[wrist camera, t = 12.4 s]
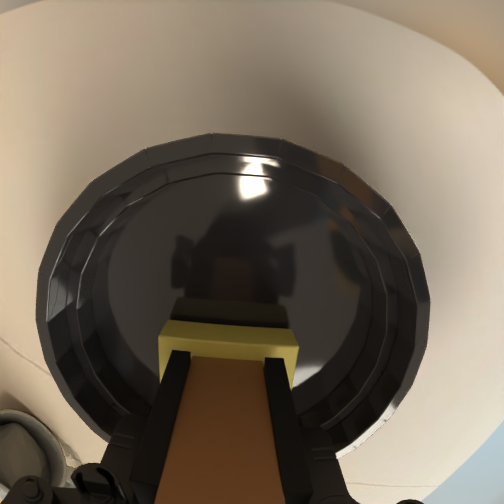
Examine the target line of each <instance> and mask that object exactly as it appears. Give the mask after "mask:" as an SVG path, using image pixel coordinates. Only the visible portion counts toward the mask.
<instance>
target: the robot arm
mask: <svg viewBox="0 0 504 504" xmlns="http://www.w3.org/2000/svg"><path fill="white" fill-rule="evenodd" d="M190 363H191V352H189V351H180V350H172V352H171V354H170V357H169V360H168V363H167V366H166V368H165V371H164V374H163V377H162V380H161V383H160V386H159V388H158V391H157V394H156V397H155V400H154V403H153V406H152V409H151V412H150V415H149V417H145V416H139V415H134V414H129V413H127V414H126V415H125V416H124V417H123V418H121V419H120V420H119V421H118V422H117V425H116V427H115V429H114V432H113V435H112V436H111V439H110V441H109V444H108V446H107V448H106V451H105V453H104V455H103V458H102V460H101V463H100V464H99V463H87V464H84V465H81V466H79V467H78V468H76V469H75V470H74V471H73V473H72V475H71V477H70V478H71V480H72V481H73V483H74V485H75V487H76V488H65V487H53V486H50V485H49V483H48V482H47V481H45V480H44V479H43V478H41V477H38V476H35V475H27V476H24V477H21V478H19V479H18V480H17V481H16V482H15V483H14V485H13V486H12V488H11V489H10V490H9V492H8V493H7V495H6V496H5V498H4V499H3V501H2V502H1V504H154V502H155V498H156V494H157V489H158V486H159V483H160V479H161V475H162V471H163V467H164V462H165V458H166V454H167V450H168V447H169V443H170V439H171V435H172V431H173V427H174V423H175V419H176V415H177V412H178V408H179V404H180V400H181V397H182V393H183V389H184V385H185V382H186V378H187V374H188V371H189V367H190ZM263 369H264V375H265V382H266V388H267V394H268V401H269V407H270V413H271V420H272V426H273V432H274V439H275V445H276V451H277V458H278V464H279V470H280V476H281V483H282V489H283V494H284V498H285V504H360V503H358V502H356V501H355V500H354V499H353V498H352V497H351V496H350V495H349V493H348V490H347V487H346V484H345V481H344V478H343V475H342V472H341V468H340V465H339V462H338V459H337V458H336V457H337V456H336V453H335V450H334V447H333V443H332V440H331V437H330V435H329V434H328V433H327V432H326V431H325V430H324V429H323V428H322V427H321V426H313V427H299V424H298V419H297V415H296V410H295V406H294V401H293V397H292V393H291V388H290V384H289V379H288V375H287V371H286V366H285V362H284V358H272V357H265V361H264V368H263ZM397 504H423V503H422V502H420V501H418V500H412V499H408V500H402V501H400V502H398V503H397Z"/></svg>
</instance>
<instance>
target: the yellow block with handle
mask: <svg viewBox="0 0 504 504" xmlns="http://www.w3.org/2000/svg"><path fill="white" fill-rule="evenodd" d="M158 348H159V374H160V383H161V380H162V377H163V374H164V371H165V368H166V366H167V363H168V360H169V357H170V354H171V352H172V350H180V351H189V352H191V363H190V367H189V371H188V374H187V378H186V382H185V385H184V389H183V393H182V397H181V400H180V404H179V408H178V412H177V415H176V419H175V423H174V427H173V431H172V435H171V439H170V443H169V447H168V450H167V454H166V458H165V462H164V467H163V471H162V475H161V479H160V483H159V486H158V489H157V494H156V498H155V502H154V504H285V498H284V494H283V489H282V483H281V476H280V470H279V464H278V458H277V451H276V445H275V439H274V432H273V426H272V420H271V413H270V407H269V401H268V394H267V388H266V382H265V375H264V369H263V368H264V361H265V357H272V358H284V362H285V366H286V371H287V375H288V379H289V384H290V388H291V390H292V385H293V379H294V373H295V368H296V362H297V356H298V350H299V346H298V343H297V341H296V339H295V336H294V334H293V331H292V329H282V328H263V327H247V326H233V325H220V324H208V323H197V322H187V321H177V320H167V322H166V323H165V325H164V327H163V329H162V330H161V332H160V334H159V336H158Z"/></svg>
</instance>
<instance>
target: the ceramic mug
mask: <svg viewBox="0 0 504 504" xmlns="http://www.w3.org/2000/svg"><path fill="white" fill-rule="evenodd" d="M74 470H75V468H73V467H70V466H67V465H66V460H65V456H64V453H63V451H62V448H61V446H60V445H59V443H58V441H57V440H56V438H55V437H54V436H53V434H52V433H51V432H50V431H49V430H48V429H47V428H46V427H45V426H44V425H43V424H42V423H41V422H39V421H38V420H37V419H36V418H34V417H32V416H31V415H29V414H26V413H24V412H21V411H18V410H12V409H5V410H0V499H2V500H3V499H4V498H5V496H6V495H7V493H8V492H9V490H10V489H11V488H12V486H13V485H14V483H15V482H16V481H17V480H18V479H19V478H21V477H24V476H27V475H35V476H38V477H41V478H43V479H44V480H45V481H47V482H48V483H49V485H50V486H53V487H65V488H76V487H75V485H74V483H73V481H72V480H71V478H70V477H71V475H72V473H73V471H74Z"/></svg>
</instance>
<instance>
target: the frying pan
mask: <svg viewBox="0 0 504 504" xmlns="http://www.w3.org/2000/svg"><path fill="white" fill-rule="evenodd" d="M429 317H430V295H429V290H428V286H427V281H426V277H425V272H424V268H423V264H422V260H421V256H420V253H419V250H418V249H417V247H416V245H415V243H414V242H413V240H412V238H411V236H410V235H409V233H408V231H407V230H406V228H405V226H404V225H403V223H402V222H401V220H400V218H399V217H398V215H397V213H396V212H395V210H394V209H393V207H392V206H391V205H390V204H389V203H388V202H387V201H386V200H385V199H384V198H383V197H382V196H381V195H379V194H378V193H377V192H376V191H375V190H374V189H373V188H371V187H370V186H369V185H368V184H367V183H366V182H364V181H363V180H362V179H361V178H360V177H359V176H357V175H356V174H355V173H354V172H353V171H351V170H350V169H349V168H348V167H346V166H344V165H343V164H342V163H340V162H337V161H335V160H333V159H331V158H328V157H326V156H324V155H321V154H319V153H317V152H314V151H312V150H309V149H307V148H304V147H302V146H299V145H297V144H294V143H292V142H289V141H287V140H284V139H282V140H281V139H279V138H271V137H261V136H250V135H238V134H223V133H213V134H210V133H208V134H203V135H199V136H194V137H190V138H185V139H181V140H176V141H172V142H168V143H164V144H160V145H156V146H152V147H149V148H146V149H143V150H141V151H140V152H138V153H136V154H135V155H133V156H131V157H130V158H128V159H126V160H125V161H123V162H121V163H120V164H118V165H116V166H115V167H113V168H112V169H110V170H108V171H107V172H105V173H104V174H102V175H101V176H99V177H97V178H96V179H94V180H93V182H91V183H90V184H89V185H88V186H87V187H86V188H85V190H84V191H83V192H82V193H81V194H80V195H79V197H78V198H77V199H76V200H75V201H74V203H73V204H72V205H71V206H70V207H69V209H68V210H67V211H66V212H65V214H64V215H63V216H62V217H61V219H60V220H59V221H58V223H57V225H56V226H55V229H54V231H53V233H52V236H51V238H50V241H49V243H48V246H47V249H46V251H45V254H44V256H43V259H42V262H41V265H40V268H39V272H38V280H37V295H36V324H37V329H38V334H39V338H40V343H41V347H42V351H43V355H44V359H45V362H46V364H47V366H48V368H49V370H50V372H51V374H52V376H53V378H54V380H55V382H56V384H57V386H58V388H59V390H60V391H61V393H62V395H63V397H64V398H65V400H66V401H67V402H68V404H69V405H70V406H71V407H72V408H73V410H74V411H75V412H76V413H77V414H78V415H79V417H80V418H81V419H82V420H83V421H84V422H85V423H86V425H87V426H88V427H89V428H90V429H91V430H93V432H94V433H96V434H97V435H98V436H100V437H101V438H102V439H103V440H105V441H106V442H107V443H109V441H110V439H111V436H112V435H113V432H114V429H115V427H116V425H117V422H118V421H119V420H120V419H121V418H123V417H124V416H125V415H126V414H127V413H129V414H134V415H139V416H145V417H149V415H150V412H151V409H152V406H153V403H154V400H155V397H156V394H157V391H158V388H159V386H160V374H159V348H158V336H159V334H160V332H161V330H162V329H163V327H164V325H165V323H166V322H167V320H177V321H187V322H197V323H208V324H220V325H233V326H247V327H263V328H282V329H292V331H293V334H294V336H295V339H296V341H297V343H298V346H299V350H298V356H297V362H296V368H295V373H294V379H293V385H292V390H291V393H292V397H293V401H294V406H295V410H296V415H297V419H298V424H299V427H313V426H321V427H322V428H323V429H324V430H325V431H326V432H327V433H328V434H329V435H330V437H331V440H332V443H333V447H334V450H335V453H336V456H337V457H336V458H337V459H339V458H341V457H342V456H344V455H346V454H347V453H349V452H351V451H353V450H354V449H356V447H358V446H360V445H361V444H362V443H363V442H364V441H365V440H367V439H368V438H369V437H370V436H371V435H372V434H373V433H374V432H376V431H377V430H378V429H379V428H380V427H381V426H382V425H383V424H384V423H385V422H386V421H387V420H388V419H389V418H390V417H391V415H392V414H393V413H394V411H395V410H396V408H397V407H398V406H399V404H400V403H401V401H402V400H403V398H404V397H405V396H406V394H407V393H408V391H409V390H410V388H411V386H412V385H413V382H414V380H415V377H416V374H417V372H418V369H419V367H420V364H421V361H422V359H423V356H424V353H425V350H426V347H427V340H428V330H429Z"/></svg>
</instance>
